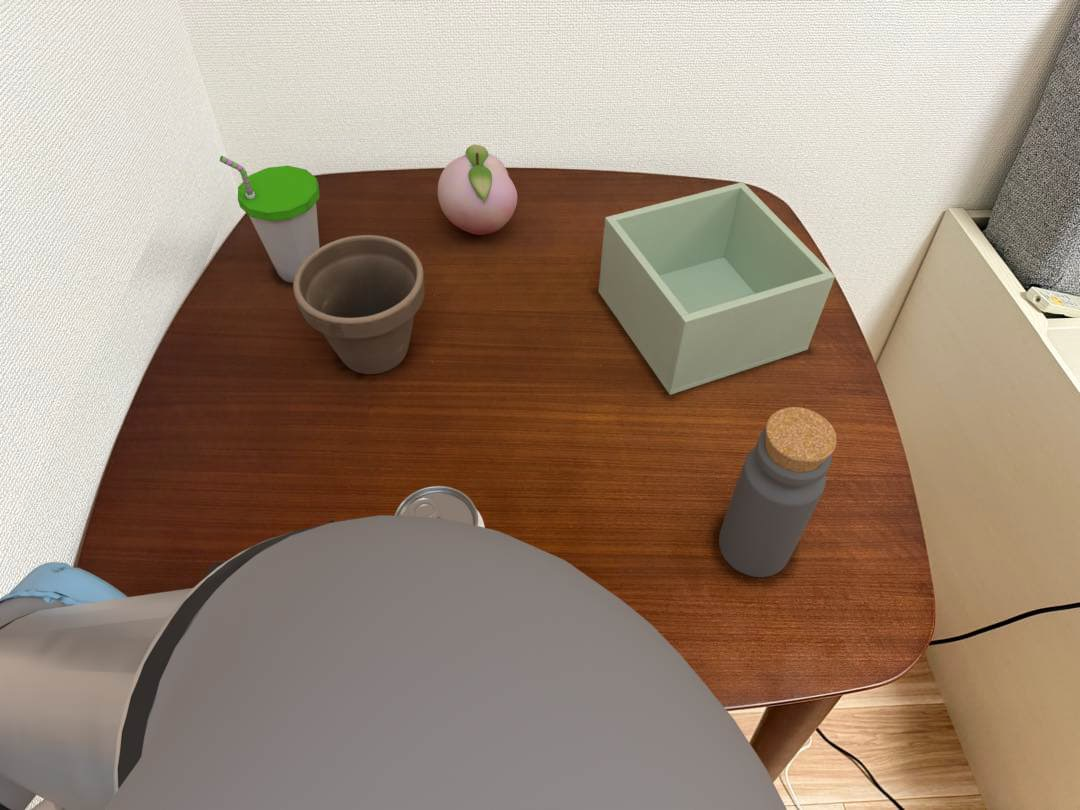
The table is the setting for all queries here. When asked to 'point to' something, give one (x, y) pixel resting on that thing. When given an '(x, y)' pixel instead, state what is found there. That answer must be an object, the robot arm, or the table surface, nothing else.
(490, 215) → the decorative fruit
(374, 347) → the flower pot
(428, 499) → the can
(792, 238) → the bin
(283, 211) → the cup
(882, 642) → the table surface
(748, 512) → the bottle
